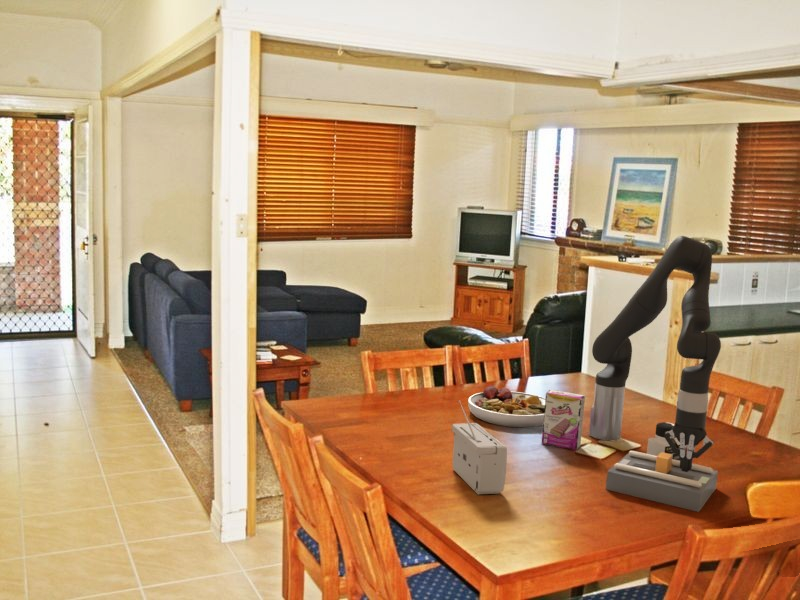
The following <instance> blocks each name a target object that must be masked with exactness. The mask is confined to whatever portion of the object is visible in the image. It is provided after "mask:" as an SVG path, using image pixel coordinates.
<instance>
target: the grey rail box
mask: <svg viewBox="0 0 800 600" xmlns="http://www.w3.org/2000/svg"><path fill="white" fill-rule="evenodd" d="M656 458H657V456H655V455H650V454H647V452H646V453H645V452H640V451H636V450H629V451H628V453H627V454H626V455H624V456H623V457H622V458H621V459H619V461H618V462H617V463H614V465H613V466H611V468H609V469H608V470H607V472H606V474H607V475H606V483H605V490H607V491H611V492H614V493H619V494H622V495H623V494H624V495H628V496H632V497H637V498H640V499H645V500H648V501H652V502H656V503H660V504H664V505H669V506H673V507H678V508H680V509H681V508H682V509H685V510H688V511H694V512H697V513H700V511H701V510H702V508H703V507H704V506H705V504H706V503H707V501H709V499H710V497H711V496H712V495H713V493H714V492H715V491H716V489H717V482H718V473H719V471H718V470H715V469H713V468H712V467H710V466H704V465H701V464H696V463H692V468H691V469H690V471H688V472H684V471H682V469H681V468H680V461H678V460H673V459H672V468H671V470H670V471H669V472H668V473H667V474H665V473H660V472H656V471H655V468H656Z"/></svg>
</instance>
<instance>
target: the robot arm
mask: <svg viewBox="0 0 800 600" xmlns="http://www.w3.org/2000/svg"><path fill="white" fill-rule="evenodd" d="M712 252H713V251H712V249H711V247H710V246H709V245H708V244H707V243H705V242H701V241H699V240H696V239H694V238H691V237H688V236H685V235H679V236H677V237H676V238H675V239H674V240H673V241H672V242H671V243H670V245H668V247H667V249H666V250H665V252H664V253H663V255H662V256H661V258H660V259H659V261H658V263H657V264H656V266H655V267H654V269H653V270H652V271H651V273H650V274H649V275H648V277H647V278H646V280H645V281H644V282H643V283H642V285H640V287H639V288H637V290H636V291H635V293H634V294H633V295H632V296H631V298H630V299H629V300H628V302H627V303H626V305H625V306H624V307H623V309H621V311H620V312H619V314H618V315H617V316H616V317H615V319H613V320H612V322H611V323H610V324H609V325H607V327H606V328H605V329H603V331H602V332H601V333H599V334H598V336H597V337H596V338H595V340H594V342H593V345H592V351H591V353H592V358H594V360H595V361H596V362H597V363H600V364H604V365H605V367H604V368H603V369H602V370H601V371H599V372H597V373H596V376H595V381H594V382H595V383H594V391H593V392H594V393H593V394H594V396H593V405H592V406H591V407H590V413H589V414H590V415H589V416H590V417H589V425H588V426H589V427H588V436H590V437H593V438H595V439H598V440H603V441H608V440H614V441H618V440H617V439H619V440H620V439H621V436H622V435H621V434H622V425H623V415H624V406H625V405H624V403H625V392H626V382H627V380H628V378H629V376H630V369H631V362H632V356H633V354H632V353H633V347H632V342H631V340H630V337H631V336H633V335H634V334H636V333H637V332H639V331H641V330H643V329H644V328H646V327H647V326H649V325H650V324H651V323H653V322H654V321H655V320H656V319H657V317H658V316H659V315H660V314H661V313H662V311H664V310H665V307H666V306H667V304H668V303H667V302H668V280H669V277H670V275H671V274H672V272H674V270H676V269H677V270H680V271H682V272H685V273H687V274H691V275H692V277H693V283H692V285H691V286H690V288H689V289H688V290H686V292H685V293H684V295H683V297H682V299H681V321H682V323H681V329H680V334H679V336H678V339H677V343H676V349H677V353H678V355H680V356H681V357H682V358H684V359H691V360H702V361H701V362H699V364H697V365H691V366H687V367H686V366H685V367H684V368H683V369H682V370H681V374H680V384H679V390H678V394H677V400H676V411H675V412H676V413H675V420H674V421H675V422H674V427H673V428H672V430H671V431H667V432H666V433H665V434H664V437H665V439H666V441H667V442H668V444H669V445H670V447H671V449H672V450H673V452H674V453H675V454H678V455H680V468H681V469H682V471H684V472H688V471H690V469H691V468H692V464H693V461H694V459H699V458H700V457H701V456H702V455H704V453H705V452H707V450H709V449H711V447H712V446H713V445H714V444H715V441H714V440H713V439H710V438H709V437H708V436H707V434H708V433H707V431H706V424H707V414H708V404H709V389H710V388H709V387H710V380H711V376H712V375H711V374H712V372H713V368H714V366H715V363H716V361H717V359H718V357H719V354H720V352H721V348H722V341H721V339H720V337H719V336H718V335H717V334H716V333H713V332H705V331H707V330H709V328H710V326H711V323H712V322H711V312H710V302H709V299H710V298H709V297H710V295H709V294H710V292H709V291H710V284H711V277H712V275H711V274H712V265H713V254H712ZM674 434H675V436H676V438H677V441H679V442H680V447H679V446H678V444H677V443H676V441H675V439H674V437H675V436H674ZM701 442H702V446H701V447H700V448H699V449H698V450H696V451H695V449H696V446H698V445H699V444H700V443H701Z"/></svg>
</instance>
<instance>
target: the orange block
mask: <svg viewBox="0 0 800 600" xmlns="http://www.w3.org/2000/svg"><path fill="white" fill-rule="evenodd" d="M672 458H673V454H668V453H664V452H661V453H660V454H659V455H658V456H657V458H656V468H655V471H656V472H660V473H665V474H667V473H668V472H669V471H670V470H671V468H672Z"/></svg>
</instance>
